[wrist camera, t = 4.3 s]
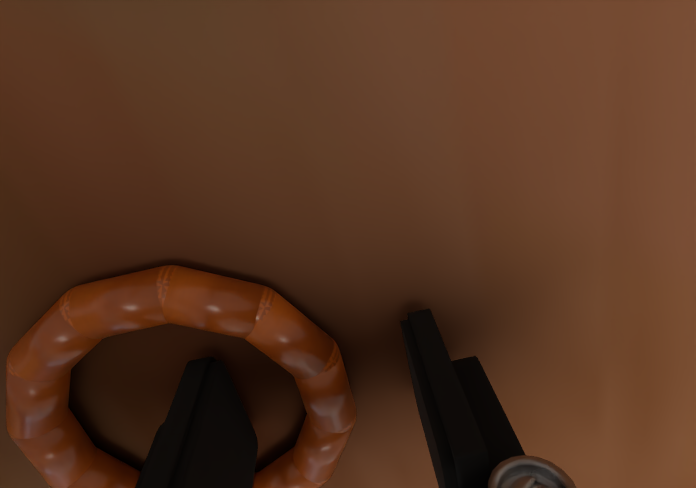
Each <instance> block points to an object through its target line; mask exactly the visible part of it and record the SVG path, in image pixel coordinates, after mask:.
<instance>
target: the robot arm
mask: <svg viewBox="0 0 696 488" xmlns="http://www.w3.org/2000/svg"><path fill="white" fill-rule="evenodd" d="M407 315H408V319H407V320H403V321H400V323H401V328H402V333H403V338H404V343H405V348H406V353H407V358H408V363H409V368H410V373H411V378H412V383H413V388H414V393H415V398H416V402H417V407H418V411H419V415H420V419H421V422H422V426H423V430H424V433H425V437H426V441H427V445H428V448H429V452H430V456H431V459H432V463H433V467H434V471H435V474H436V478H437V482H438V485H439V488H576V486H575V484H574V482H573V481H572V480H571V478H570V477H569V476H568V475H567V474H566V473H565V472H564V471H563V470H562V469H561V468H559V467H558V466H556V465H555V464H553V463H552V462H550V461H547V460H544V459H542V458H539V457H534V456H526V455H525V453H524V451H523V449H522V447H521V445H520V443H519V441H518V439H517V437H516V435H515V433H514V431H513V429H512V427H511V425H510V423H509V421H508V418H507V416H506V414H505V412H504V410H503V408H502V406H501V404H500V402H499V400H498V398H497V396H496V394H495V392H494V390H493V388H492V386H491V384H490V382H489V380H488V378H487V376H486V374H485V372H484V370H483V368H482V366H481V364H480V362H479V360H478V358H477V357H476V356H472V357H468V358H463V359H458V360H454V361H451V359H450V357H449V355H448V352H447V350H446V347H445V345H444V342H443V340H442V337H441V335H440V332H439V330H438V328H437V325H436V323H435V320H434V318H433V315H432V313H431V311H430V309H425V310H420V311H416V312H411V313H407ZM257 449H258V443H257V437H256V434H255V431H254V429H253V427H252V425H251V422H250V420H249V418H248V416H247V413H246V411H245V409H244V407H243V404H242V402H241V400H240V398H239V395H238V393H237V391H236V389H235V386H234V384H233V382H232V380H231V377H230V375H229V373H228V371H227V368H226V366H225V364H224V362H223V361H221V360H220V361H216V359H215V358H214V357H212V356H210V357H206V358H201V359H196V360H192V361H189V362H188V363H187V365H186V368H185V370H184V373H183V375H182V378H181V381H180V383H179V386H178V389H177V391H176V394H175V396H174V399H173V402H172V404H171V407H170V410H169V412H168V415H167V417H166V420H165V423H163V424H162V425H161V426H160V427H159V429H158V431H157V433H156V435H155V438H154V440H153V443H152V445H151V448H150V451H149V453H148V456H147V458H146V461H145V463H144V466H143V468H142V471H141V474H140V476H139V479H138V481H137V484H136V486H135V488H252V487H253V479H254V472H255V465H256V457H257Z"/></svg>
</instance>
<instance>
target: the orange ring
mask: <svg viewBox="0 0 696 488" xmlns="http://www.w3.org/2000/svg"><path fill="white" fill-rule="evenodd" d="M168 323H171V324H176V325H181V326H186V327H191V328H196V329H201V330H205V331H210V332H215V333H220V334H225V335H230V336H235V337H239V338H244V339H245V340H247V341H248V342H249V343H251V344H252V345H253V346H255V347H256V348H257V349H259V350H260V351H261V352H263V353H264V354H265V355H267V356H268V357H269V358H271V359H272V360H273V361H275V362H276V363H277V364H279V365H280V366H281V367H283V368H284V369H285V370H287V371H288V372H289V373H291V374H292V375H293V376H294V379H295V381H296V384H297V387H298V390H299V393H300V395H301V398H302V401H303V404H304V406H305V409H306V412H307V415H306V418H305V421H304V423H303V426H302V429H301V431H300V434H299V437H298V439H297V442H296V445H295V446H294V447H293V448H292V449H290V450H289V451H287V452H286V453H285V454H283V455H282V456H280V457H279V458H278V459H276V460H275V461H274V462H272V463H271V464H269V465H268V466H267V467H265V468H264V469H263V470H261V471H260V472H256V473H254V479H253V487H252V488H318V487H320V486H321V485H323V484H324V483H325V482H327V481H328V480H329V479H330V477H331V476H332V474H333V472H334V470H335V467H336V465H337V463H338V461H339V458H340V456H341V454H342V451H343V449H344V447H345V445H346V442H347V440H348V438H349V436H350V433H351V431H352V429H353V426H354V424H355V421H356V416H357V410H356V405H355V402H354V398H353V395H352V391H351V388H350V384H349V381H348V377H347V374H346V371H345V367H344V364H343V360H342V357H341V353H340V350H339V347H338V345H337V344H336V342H335V341H334V340H333V339H332V338H331V337H330V336H329V335H327V334H326V333H325V332H324V331H323V330H321V329H320V328H319V327H318V326H317V325H315V324H314V323H313V322H312V321H311V320H309V319H308V318H307V317H306V316H305V315H303V314H302V313H301V312H300V311H299V310H297V309H296V308H295V307H294V306H292V305H291V304H290V303H289V302H288V301H286V300H285V299H284V298H283V297H282V296H280V295H279V294H278V293H277V292H276V291H274V290H273V289H271V288H270V287H267V286H264V285H260V284H256V283H252V282H247V281H243V280H239V279H234V278H230V277H226V276H221V275H217V274H213V273H208V272H204V271H200V270H195V269H191V268H187V267H182V266H178V265H166V266H161V267H156V268H152V269H148V270H143V271H139V272H134V273H130V274H126V275H121V276H117V277H112V278H108V279H104V280H99V281H95V282H90V283H86V284H82V285H78V286H76V287H73V288H72V289H70V290H68V291H67V292H66V293H65V294H63V295H62V296H61V297H60V299H59V300H58V301H57V302H56V303H55V304H54V305H53V306H52V307H51V308H50V309H49V310H48V311H47V312H46V313H45V314H44V315H43V316H42V317H41V318H40V319H39V320H38V321H37V322H36V323H35V324H34V325H33V326H32V328H31V329H30V330H29V331H28V332H27V333H26V334H25V335H24V336H23V337H22V338H21V339H20V340H19V341H18V342H17V343H16V344H15V345H14V346H13V348H12V349H11V350H10V352H9V354H8V357H7V361H6V426H7V431H8V434H9V435H10V437H11V438H12V439H13V441H14V442H15V443H16V444H17V446H18V447H19V448H20V449H21V451H22V452H23V453H24V454H25V456H26V457H27V458H28V459H29V461H30V462H31V463H32V464H33V466H34V467H35V468H36V469H37V470H38V472H39V473H40V474H41V475H42V477H43V478H44V479H45V480H46V482H47V483H48V484H49V485H50V487H51V488H135V486H136V484H137V481H138V479H139V476H140V474H141V472H140V471H139V470H137V469H135V468H133V467H131V466H129V465H128V464H126V463H124V462H122V461H120V460H118V459H117V458H115V457H113V456H111V455H109V454H107V453H106V452H104V451H102V450H100V449H98V448H96V447H95V445H94V444H93V442H92V441H91V440H90V438H89V437H88V435H87V434H86V432H85V431H84V429H83V428H82V427H81V425H80V424H79V422H78V421H77V419H76V418H75V416H74V415H73V413H72V412H71V411H70V409H69V408H68V404H69V391H70V377H71V368H73V367H74V366H75V365H76V364H77V363H78V362H79V361H80V360H81V359H82V358H83V357H84V356H85V355H86V354H87V353H88V352H89V351H90V350H91V349H92V348H93V347H94V346H96V345H97V344H98V343H99V342H100V341H101V340H102V339H103V338H105V337H109V336H114V335H118V334H123V333H127V332H132V331H136V330H141V329H145V328H150V327H154V326H159V325H163V324H168Z"/></svg>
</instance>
